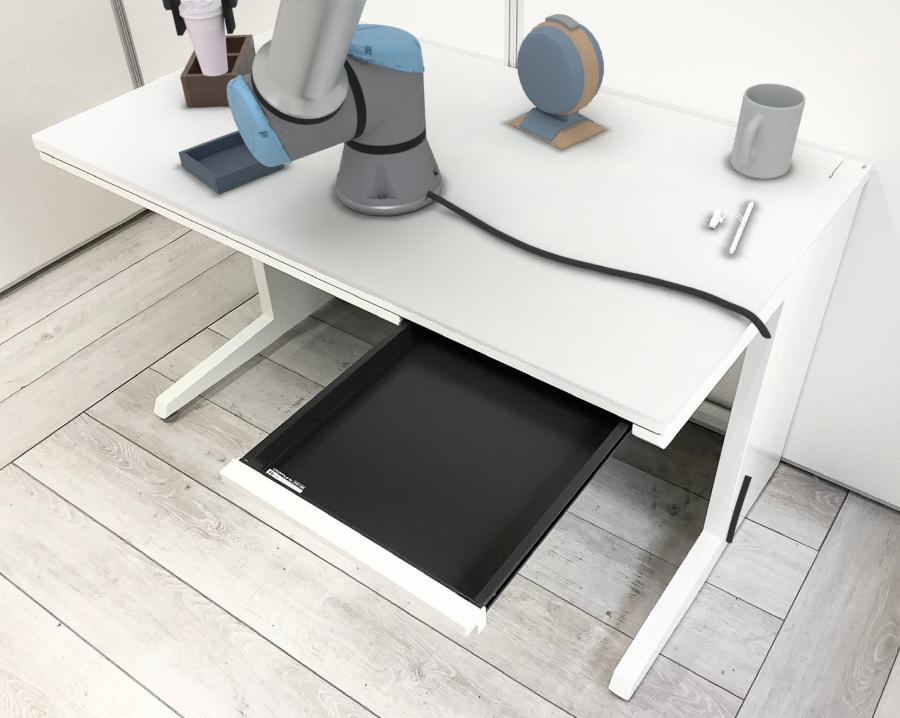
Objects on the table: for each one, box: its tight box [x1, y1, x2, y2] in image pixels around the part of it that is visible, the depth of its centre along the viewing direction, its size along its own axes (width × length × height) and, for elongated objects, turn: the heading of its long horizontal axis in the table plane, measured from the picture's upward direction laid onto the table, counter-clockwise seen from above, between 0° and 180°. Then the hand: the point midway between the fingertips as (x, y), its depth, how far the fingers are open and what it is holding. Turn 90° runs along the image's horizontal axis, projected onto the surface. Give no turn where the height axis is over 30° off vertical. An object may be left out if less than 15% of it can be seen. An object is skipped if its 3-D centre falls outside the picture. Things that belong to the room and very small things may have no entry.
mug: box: [730, 83, 806, 180], centre depth 128 cm, size 12×8×11 cm
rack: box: [179, 34, 257, 108], centre depth 158 cm, size 18×10×6 cm, turn 1°
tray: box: [178, 129, 285, 195], centre depth 136 cm, size 11×11×2 cm
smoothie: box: [179, 0, 228, 76], centre depth 126 cm, size 6×6×14 cm
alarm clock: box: [508, 13, 606, 151], centre depth 138 cm, size 14×10×18 cm
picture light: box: [708, 200, 755, 255], centre depth 120 cm, size 14×4×2 cm, turn 155°
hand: (206, 31), depth 127 cm, fingers closed on smoothie, 6 cm apart
